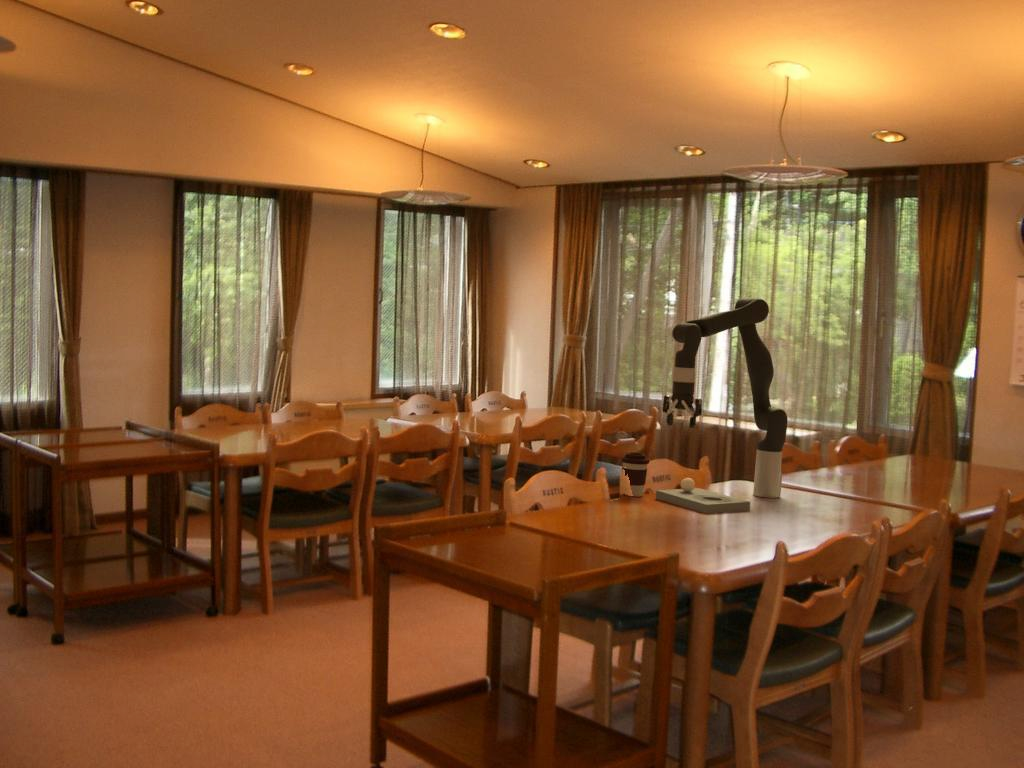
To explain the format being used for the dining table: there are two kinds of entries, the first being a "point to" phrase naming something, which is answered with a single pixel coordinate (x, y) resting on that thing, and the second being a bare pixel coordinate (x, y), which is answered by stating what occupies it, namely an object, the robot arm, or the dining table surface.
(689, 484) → the ball
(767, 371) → the robot arm
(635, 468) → the coffee cup
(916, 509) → the dining table surface
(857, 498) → the dining table surface
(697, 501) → the grey flat block
